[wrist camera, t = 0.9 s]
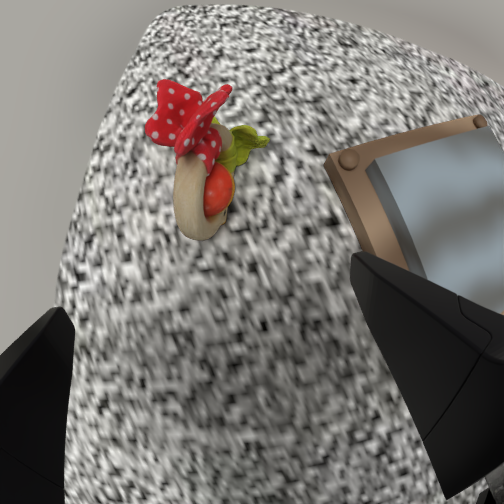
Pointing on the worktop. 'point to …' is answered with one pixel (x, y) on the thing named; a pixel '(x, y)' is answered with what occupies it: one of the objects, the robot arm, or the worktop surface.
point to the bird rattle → (200, 154)
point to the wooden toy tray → (431, 204)
